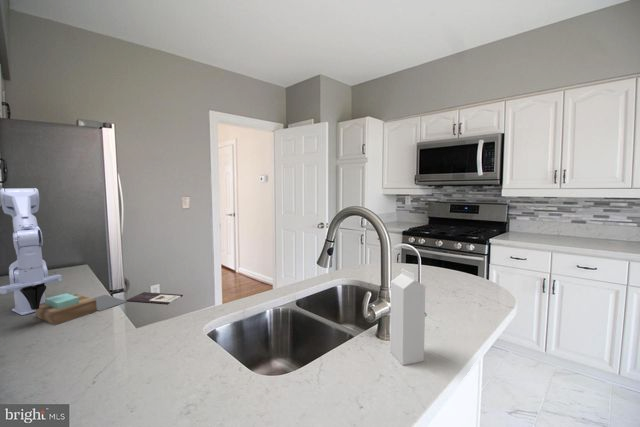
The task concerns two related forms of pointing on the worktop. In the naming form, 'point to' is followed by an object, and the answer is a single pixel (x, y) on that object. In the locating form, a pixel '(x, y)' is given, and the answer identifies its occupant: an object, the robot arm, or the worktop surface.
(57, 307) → the teal rectangular block
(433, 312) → the worktop surface
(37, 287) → the robot arm
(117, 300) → the mat
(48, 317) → the brown flat block
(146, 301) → the chocolate bar
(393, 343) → the milk
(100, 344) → the worktop surface
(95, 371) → the worktop surface
